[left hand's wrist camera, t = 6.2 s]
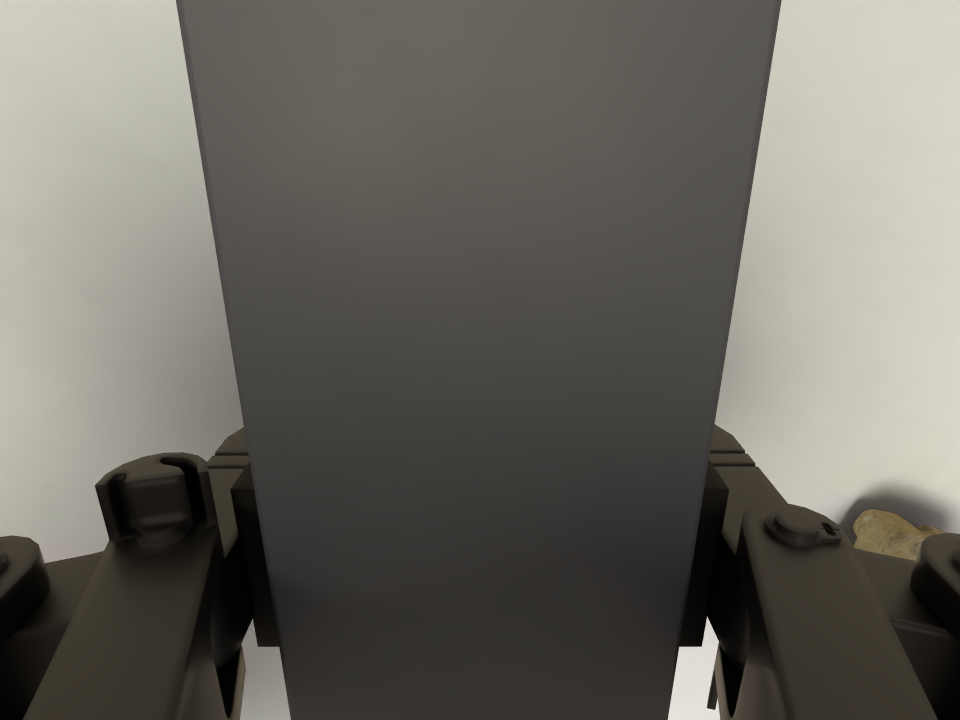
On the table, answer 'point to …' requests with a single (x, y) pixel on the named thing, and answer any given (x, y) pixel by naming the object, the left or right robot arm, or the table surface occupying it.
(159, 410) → the table surface
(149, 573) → the left robot arm
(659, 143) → the beam
